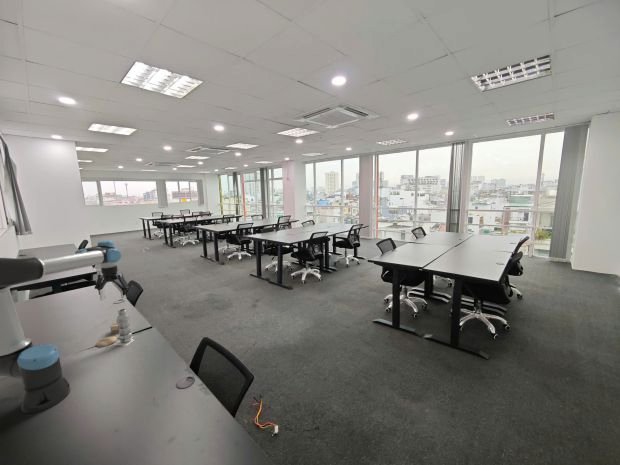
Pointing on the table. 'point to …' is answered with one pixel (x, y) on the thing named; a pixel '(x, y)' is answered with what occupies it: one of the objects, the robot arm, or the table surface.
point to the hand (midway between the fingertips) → (113, 299)
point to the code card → (124, 343)
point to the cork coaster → (106, 341)
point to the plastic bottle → (124, 326)
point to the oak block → (114, 328)
